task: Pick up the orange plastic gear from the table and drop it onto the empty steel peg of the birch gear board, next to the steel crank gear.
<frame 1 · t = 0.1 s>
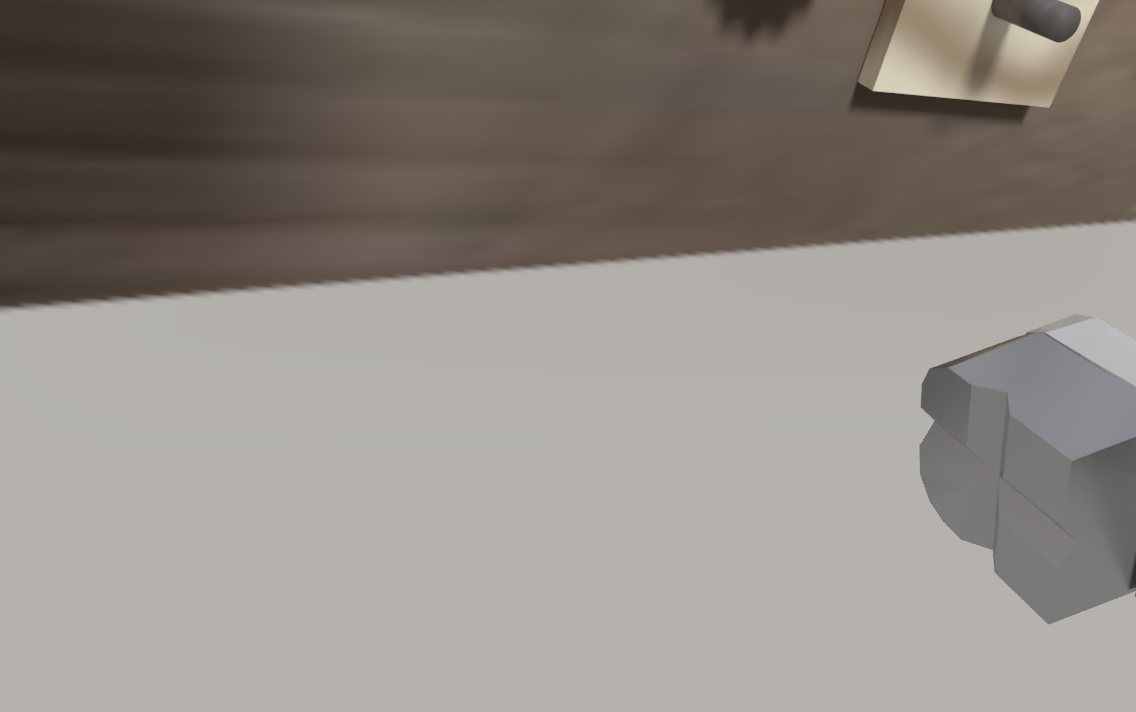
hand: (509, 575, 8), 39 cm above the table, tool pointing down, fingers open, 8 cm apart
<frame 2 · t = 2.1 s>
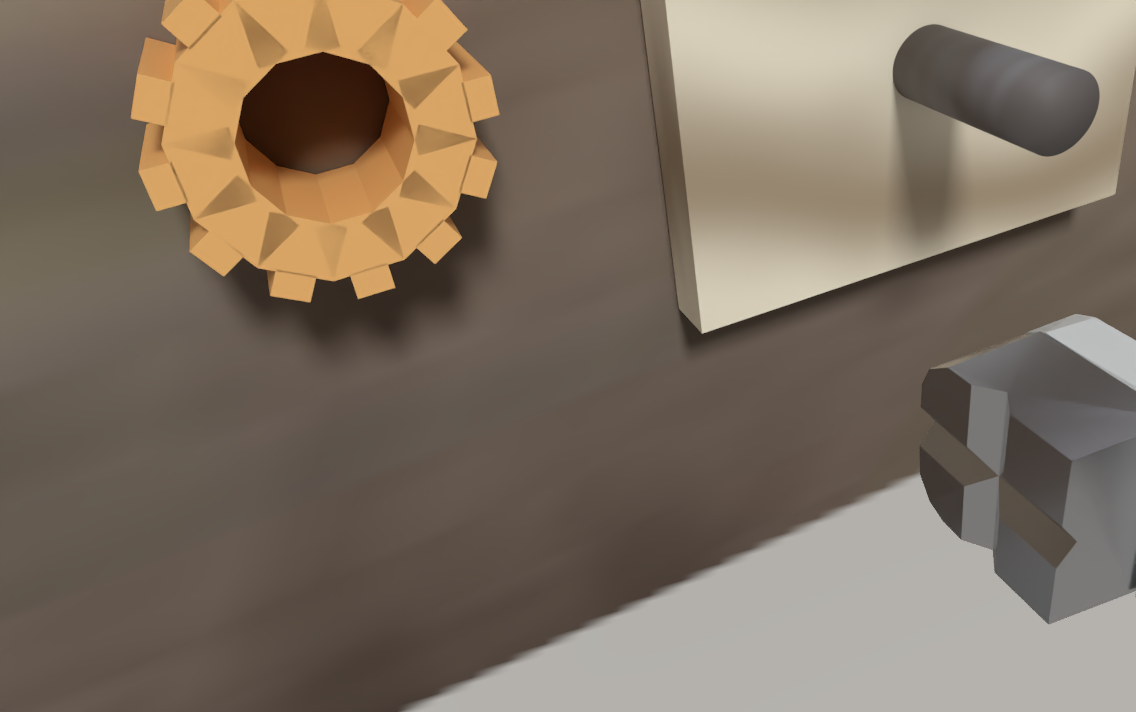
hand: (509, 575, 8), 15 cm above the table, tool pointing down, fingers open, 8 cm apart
orange gear: (312, 100, 20), on the table
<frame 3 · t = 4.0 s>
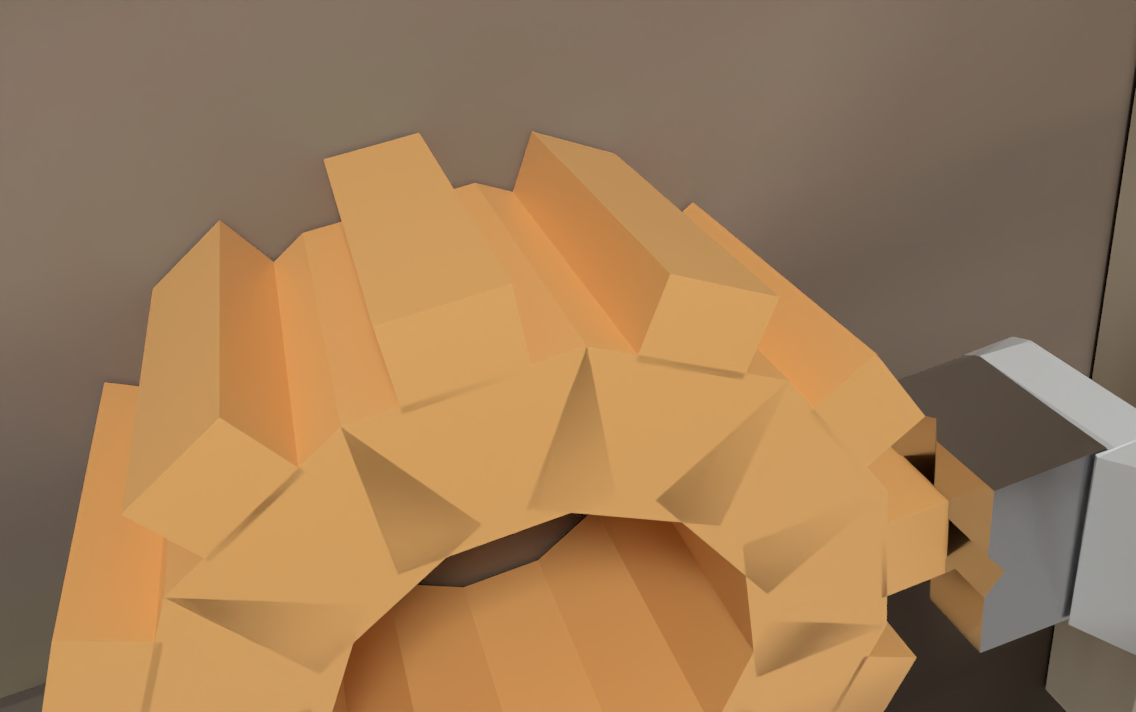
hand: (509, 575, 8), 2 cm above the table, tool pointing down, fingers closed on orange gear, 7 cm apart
orange gear: (467, 461, 10), on the table, touching gripper
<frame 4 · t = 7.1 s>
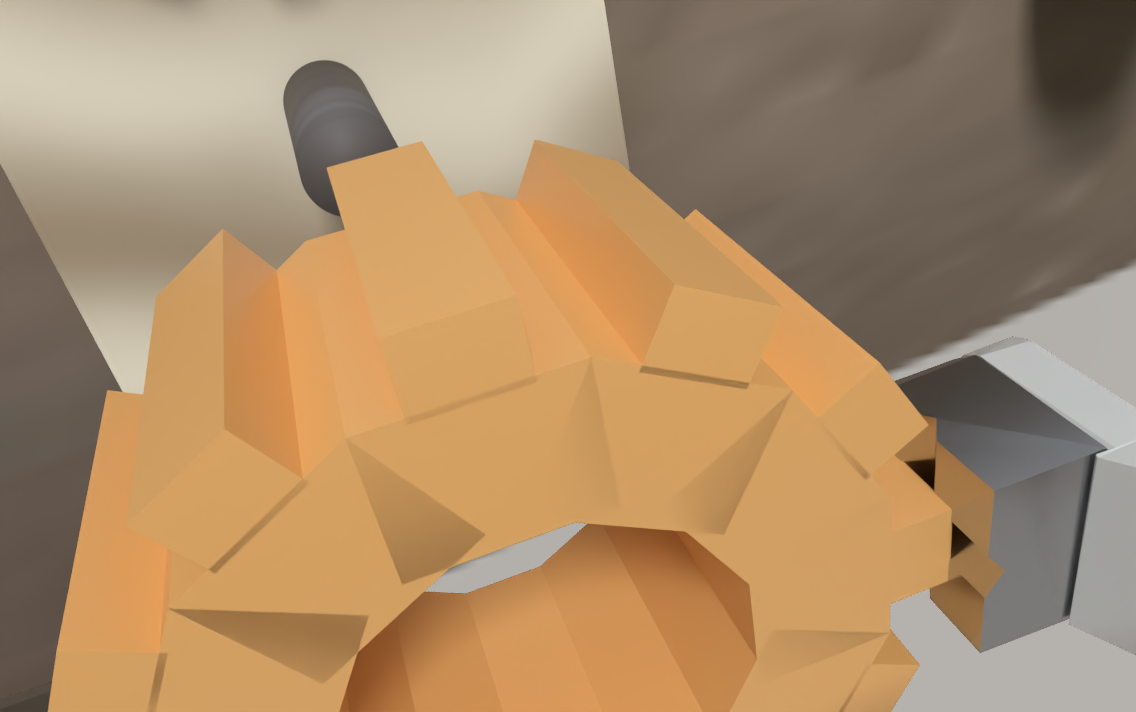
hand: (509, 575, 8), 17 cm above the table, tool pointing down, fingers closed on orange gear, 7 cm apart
orange gear: (469, 468, 10), point 15 cm above the table, touching gripper
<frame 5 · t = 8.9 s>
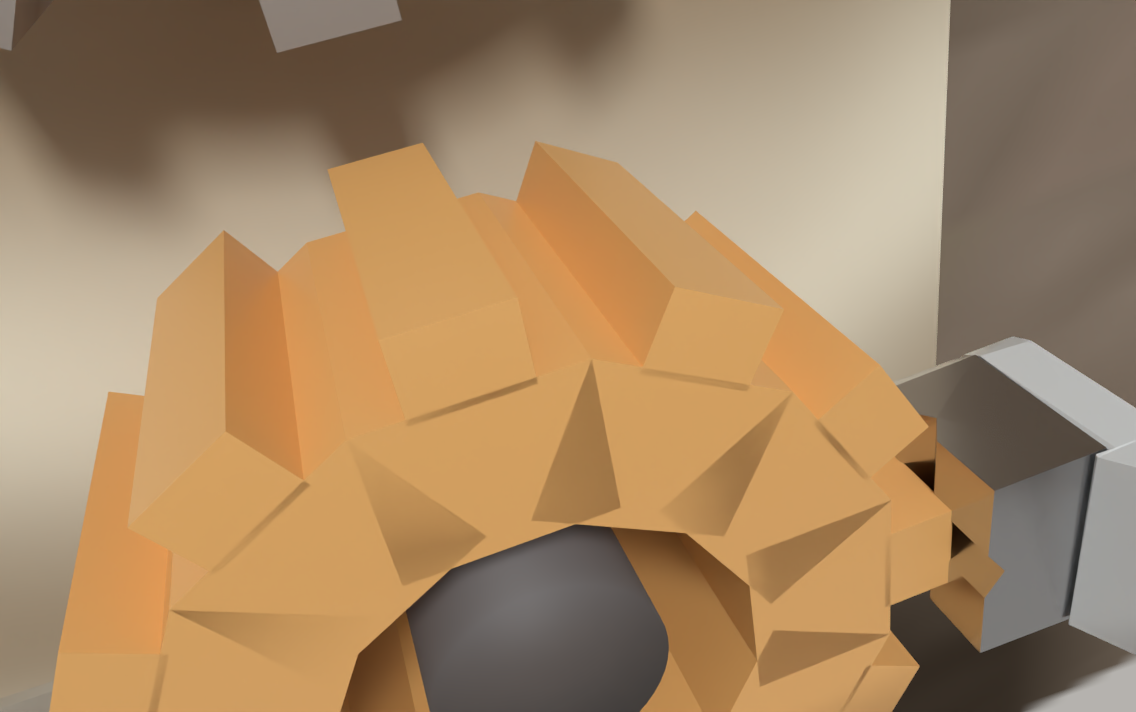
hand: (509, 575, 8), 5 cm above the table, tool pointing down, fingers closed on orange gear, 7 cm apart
orange gear: (470, 469, 10), point 3 cm above the table, touching gripper
when the fingers open (4 cm above the table, at t = 10.3 s): orange gear stays where it is, resting on gear board.
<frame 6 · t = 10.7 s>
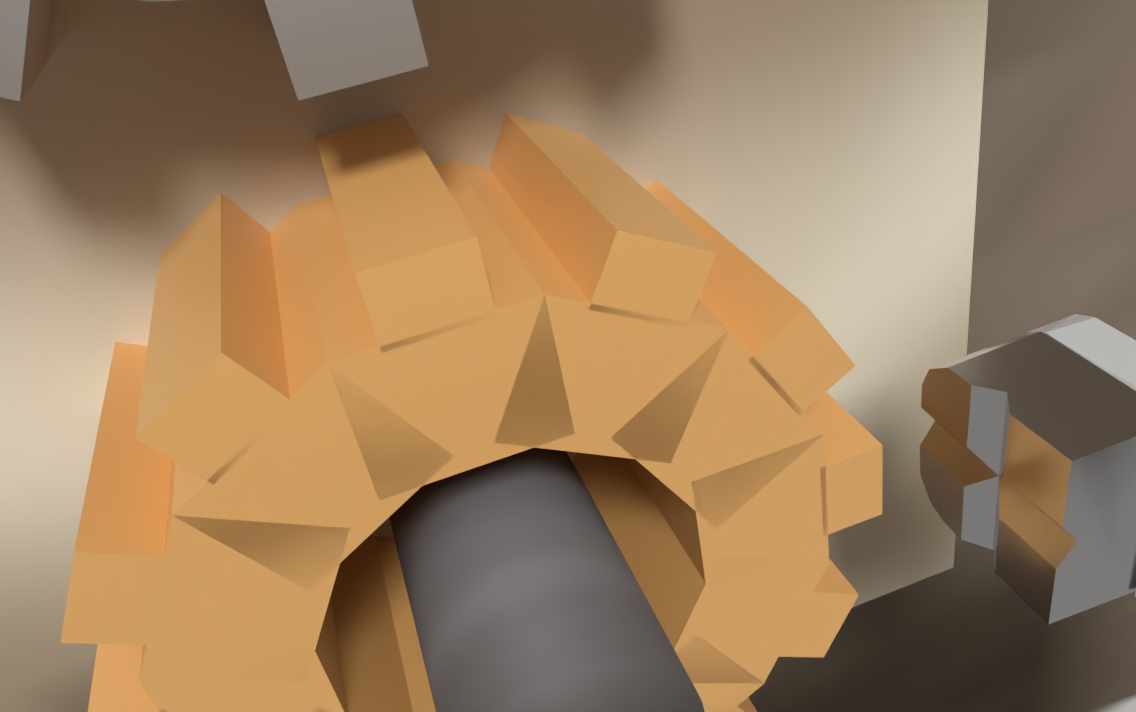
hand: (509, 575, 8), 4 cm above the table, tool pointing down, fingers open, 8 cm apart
orange gear: (449, 421, 10), point 1 cm above the table, touching gear board
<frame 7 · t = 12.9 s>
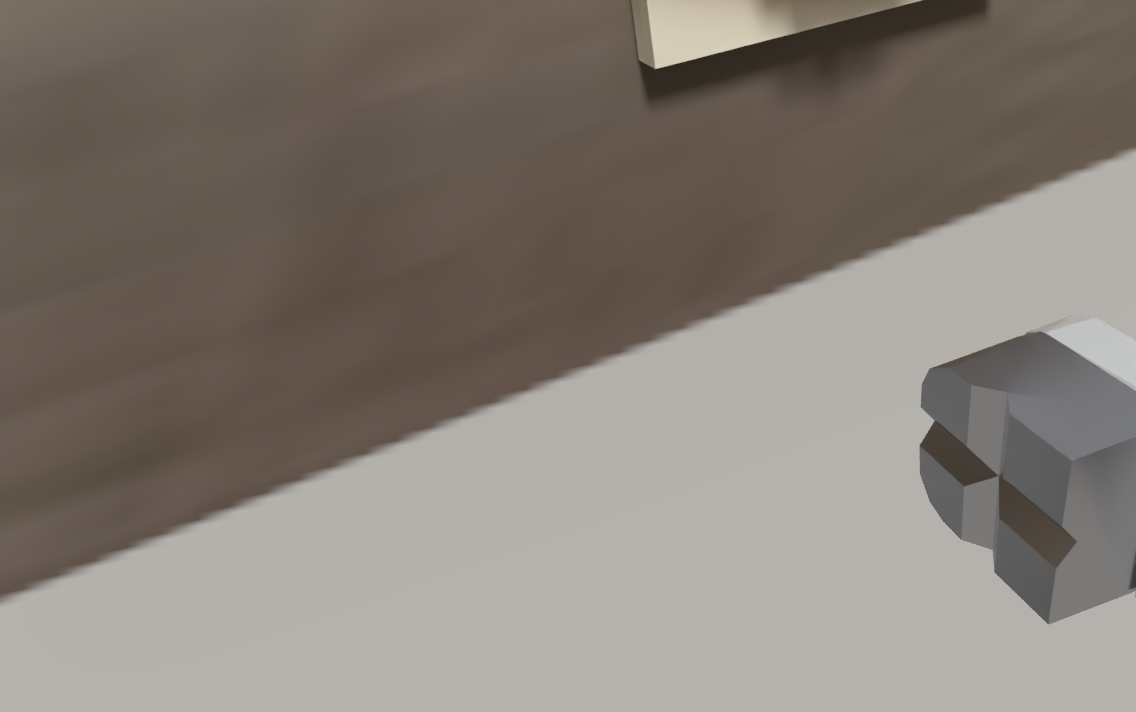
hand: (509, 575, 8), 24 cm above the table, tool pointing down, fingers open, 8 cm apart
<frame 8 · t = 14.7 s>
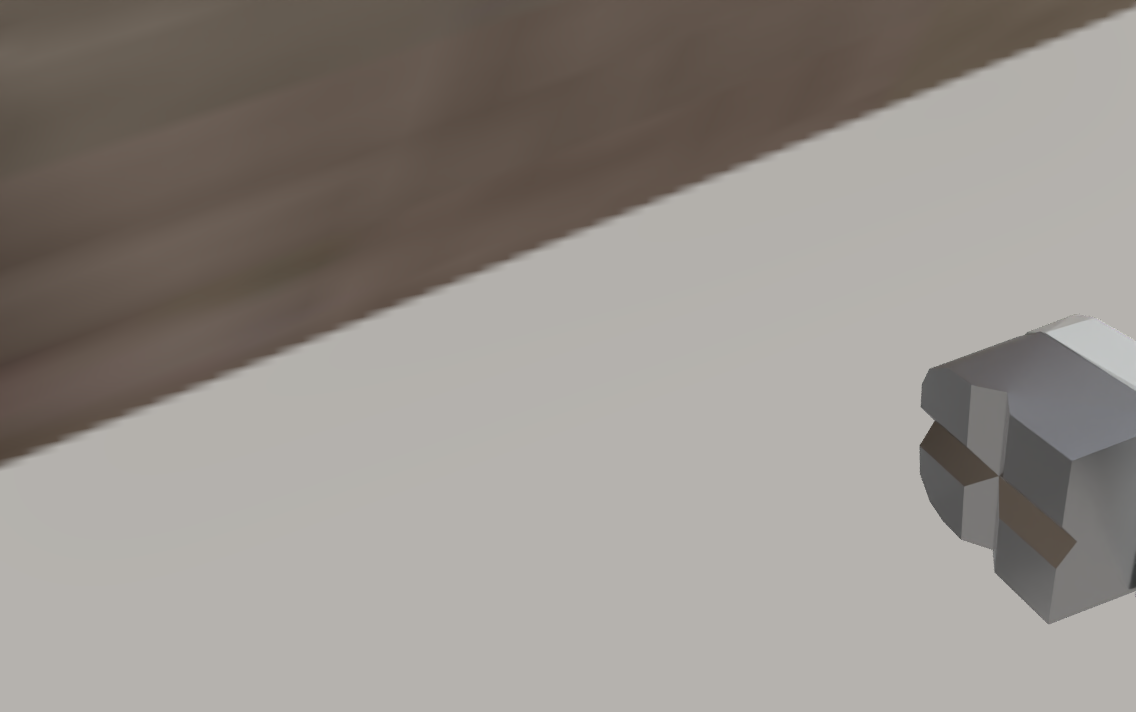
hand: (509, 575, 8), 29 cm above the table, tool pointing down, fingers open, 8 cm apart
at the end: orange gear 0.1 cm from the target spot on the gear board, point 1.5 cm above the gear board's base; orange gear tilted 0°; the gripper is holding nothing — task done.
